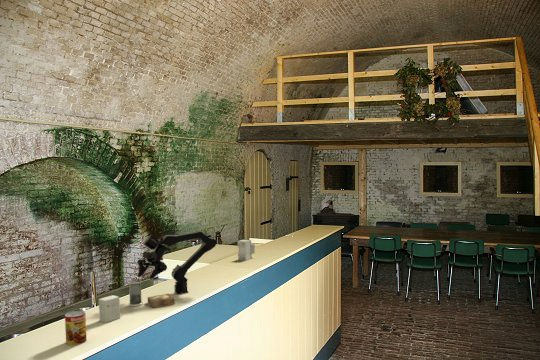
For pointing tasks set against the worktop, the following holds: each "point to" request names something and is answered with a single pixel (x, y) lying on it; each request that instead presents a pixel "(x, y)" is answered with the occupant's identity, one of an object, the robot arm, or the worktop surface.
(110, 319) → the small box
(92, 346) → the worktop surface
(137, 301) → the cylinder
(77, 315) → the canned food
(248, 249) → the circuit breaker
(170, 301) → the stand
